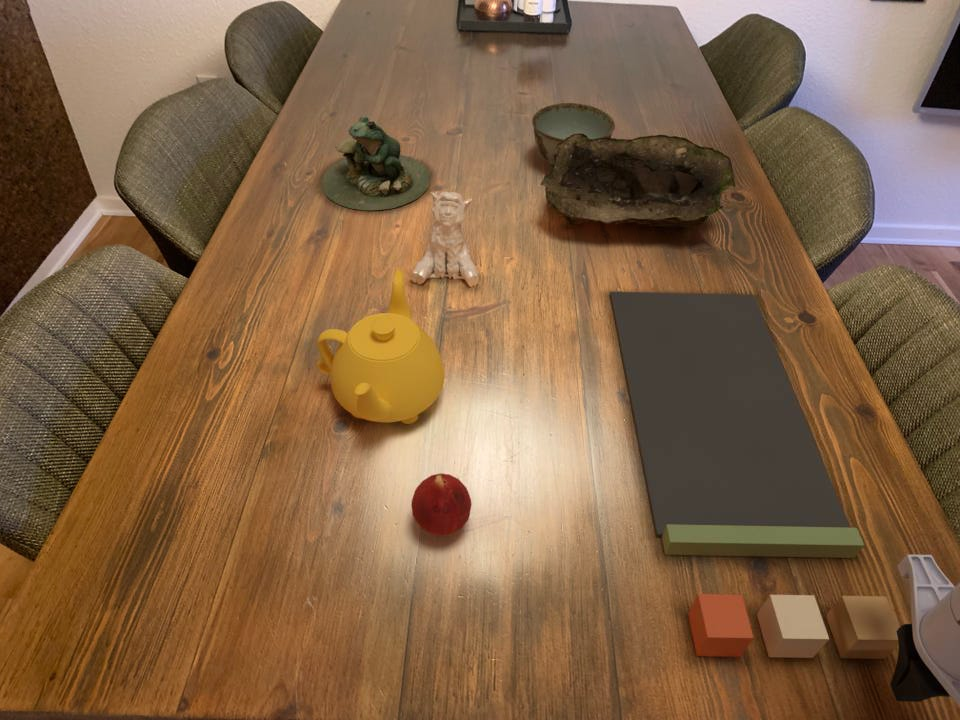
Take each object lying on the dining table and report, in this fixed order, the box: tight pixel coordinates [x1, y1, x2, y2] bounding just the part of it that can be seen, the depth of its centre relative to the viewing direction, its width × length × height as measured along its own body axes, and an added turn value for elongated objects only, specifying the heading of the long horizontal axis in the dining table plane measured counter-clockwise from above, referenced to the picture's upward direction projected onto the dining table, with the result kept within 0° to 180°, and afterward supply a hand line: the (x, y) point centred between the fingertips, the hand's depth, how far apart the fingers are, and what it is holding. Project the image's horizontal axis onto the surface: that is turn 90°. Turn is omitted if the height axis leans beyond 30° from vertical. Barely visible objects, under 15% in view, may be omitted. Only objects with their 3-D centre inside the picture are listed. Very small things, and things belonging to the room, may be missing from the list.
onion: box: [410, 472, 472, 537], centre depth 69 cm, size 6×6×8 cm
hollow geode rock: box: [539, 133, 737, 229], centre depth 108 cm, size 28×13×15 cm
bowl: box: [531, 102, 616, 168], centre depth 120 cm, size 14×13×8 cm
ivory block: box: [756, 594, 830, 659], centre depth 63 cm, size 4×4×4 cm
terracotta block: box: [687, 593, 755, 658], centre depth 63 cm, size 4×4×4 cm
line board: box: [609, 291, 865, 559], centre depth 84 cm, size 40×20×2 cm, turn 0°
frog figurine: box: [320, 115, 431, 211], centre depth 114 cm, size 18×18×12 cm
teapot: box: [316, 268, 445, 425], centre depth 80 cm, size 20×15×12 cm
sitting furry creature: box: [410, 191, 480, 288], centre depth 98 cm, size 10×9×12 cm
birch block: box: [825, 595, 900, 660], centre depth 64 cm, size 4×4×4 cm
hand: (905, 692), depth 57 cm, fingers closed
